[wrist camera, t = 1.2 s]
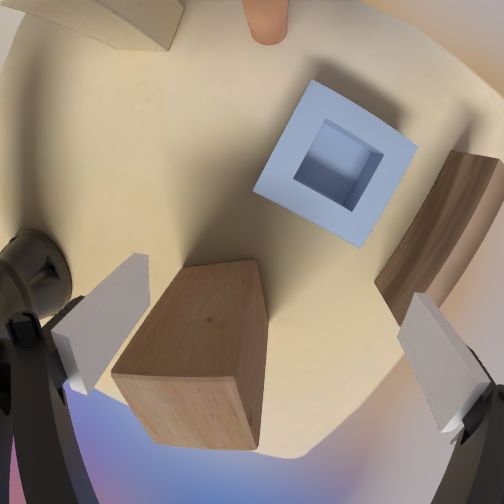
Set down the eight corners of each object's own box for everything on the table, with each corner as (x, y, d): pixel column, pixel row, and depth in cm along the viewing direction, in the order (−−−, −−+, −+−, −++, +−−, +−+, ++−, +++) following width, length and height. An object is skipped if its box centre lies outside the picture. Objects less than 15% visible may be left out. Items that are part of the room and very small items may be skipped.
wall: (374, 282, 36) (399, 326, 26) (450, 151, 29) (499, 159, 19) (390, 291, 36) (417, 335, 27) (465, 164, 29) (514, 176, 20)
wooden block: (257, 256, 36) (234, 376, 17) (269, 324, 39) (259, 452, 21) (180, 266, 37) (106, 372, 19) (199, 329, 41) (154, 445, 22)
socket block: (257, 182, 33) (252, 191, 27) (306, 90, 28) (311, 79, 23) (347, 231, 34) (360, 248, 28) (396, 144, 29) (418, 146, 24)
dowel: (244, 37, 26) (223, -21, 13) (260, 12, 25) (248, -53, 12) (277, 50, 27) (274, -6, 14) (292, 24, 25) (298, -39, 12)
